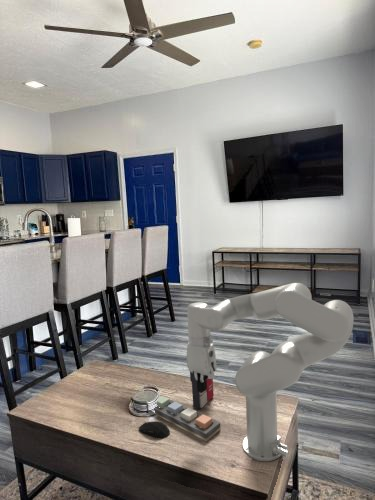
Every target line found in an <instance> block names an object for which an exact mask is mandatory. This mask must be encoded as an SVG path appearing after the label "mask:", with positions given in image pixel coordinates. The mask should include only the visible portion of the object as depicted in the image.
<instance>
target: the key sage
mask: <svg viewBox="0 0 375 500" xmlns="http://www.w3.org/2000/svg"><path fill="white" fill-rule="evenodd" d="M157 398H158V400H157V405H158V407H160V408H164V407H165V406H167V405H169V404H170V402H169V399H170V398H169V397H166V396H164V395H161V396H159V397H157Z"/></svg>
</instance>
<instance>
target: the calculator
mask: <svg viewBox="0 0 375 500" xmlns="http://www.w3.org/2000/svg"><path fill="white" fill-rule="evenodd" d="M204 376H205V375H204ZM189 380H190V382H191V391H192V407H193V408H194V409H198V410H201V409H202V408H203V407H204V406H206V404H208V402H209V401H211V399H212V398H214V378H213V379H207V380H206V383H207V390H205V391H204V392H202V393H200V392H197V380H195V376H194V374H193V373H192V372H190V371H189Z"/></svg>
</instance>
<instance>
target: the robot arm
mask: <svg viewBox="0 0 375 500" xmlns="http://www.w3.org/2000/svg"><path fill="white" fill-rule="evenodd" d="M312 297H313V296H312V293H311V291H310V289H309V288H308V287H307V286H306V285H305V284H303V283H301V282H292V283H288V284H284V285H281V286H280V285H279V286H277V287H273V288H270V289H266V290H263V291H258V292H253V293H249V294H248V293H247V294H244V295H239V296H235V297H232V298H228V299H224V300H222V301H220V302H218V303H216V304H215V305H214V306H209V304H207V303H206V302H201V301H200V302H192V303H189V305H187V308H186V309H187V310H186V314H187V317H186V318H187V330H188V331H187V333H188V335H187V336H188V337H187V338H188V342H187V345H186V346H187V347H186V366H187V369H188V371H189V373H190V372H192V373H193V374H194V376H195V380H197V392H200V393H202V392H204V391H205V390H207V383H206V380H207V379H213V380H214V379H215V372H216V371H217V368H218V367H217V357H216V351H215V347H214V340H213V339H212V336H211V335H212V334H211V331H214V332H219V331H222V330H224V329H225V328H227V327H228V325H229V324H231V323H232V322H234V321H237V320H240V319H245V318H249V317H255V318H257V319H258V320H260V321H266V320H270V319H275V318H279V317H282V318H283V319H284V320H286V321H287V322H289V323H291V324H293V325H294V326H296V327H298V328H300V329H302V330H303V331H306V332H305V333H304V334H301V335H298V336H297V337H293V338H291V339H288V340H286V341H283V342H281V343H279V344H278V345H277V346H276V347H275V348H274V350H273V351H272V352H271V354H270V353H269V352H268V351H265V350H257V351H255V352H253V353H251V354H250V355H249V356H248V357H247V358H246V360H244V362H243V364H241V365H240V367H239V368H238V370H237V371H236V374H235V378H234V381H235V383H234V384H235V386H236V389H237V391H239V393H241V394H242V395H243V396H244V397H245V408H246V409H245V410H246V411H245V413H246V414H245V415H246V418H245V419H246V437H244V438H243V441H242V449H243V452H244V453H245V454H246V455H247V456H249V457H251V459H252V460H255V461H259V462H272V461H275V460H276V459H279V458H280V457H281V456H282V457H285V458H288V456H289V455H290V453H289V450H288V449H289V446H288V445H287V444H285V443H282V442H281V441H282V440H281V436H280V435H278V416H277V415H278V411H277V409H278V407H277V405H278V403H277V399H278V398H277V397H278V396H277V392H279V391H282V390H284V389H287V388H289V387H291V386H293V385H294V384H296V383H297V382H298V380H299V379H300V378H301V375H302V374H303V371H304V370H305V369H306V368H308V367H310V366H312V365H314V364H317V363H320V362H322V361H323V360H327V359H328V358H330V357H331V356H334V355H336V354H337V353H339V351H340V350H342V348H343V347H344V346H345V345H346V343H347V342H348V340H349V339H350V336H351V335H352V331H353V327H354V312H353V309H352V308H351V306H350V304H348V303H347V302H346V301H343V300H341V299H333V300H330V301H328V302H326V303H324V304H321V303H319V302H317V301H315V300H313V298H312ZM204 375H205V376H204Z"/></svg>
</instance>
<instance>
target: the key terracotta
mask: <svg viewBox="0 0 375 500" xmlns="http://www.w3.org/2000/svg"><path fill="white" fill-rule="evenodd" d="M212 419H213V417H210V416H208V415H207V414H206V415H205V414H203V415H201V416H200V417H199V418H197V419H196V425H197V426H199V427H201V428H203V429H206V428H207V427H208V426H210V425H211V424H212Z"/></svg>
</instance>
